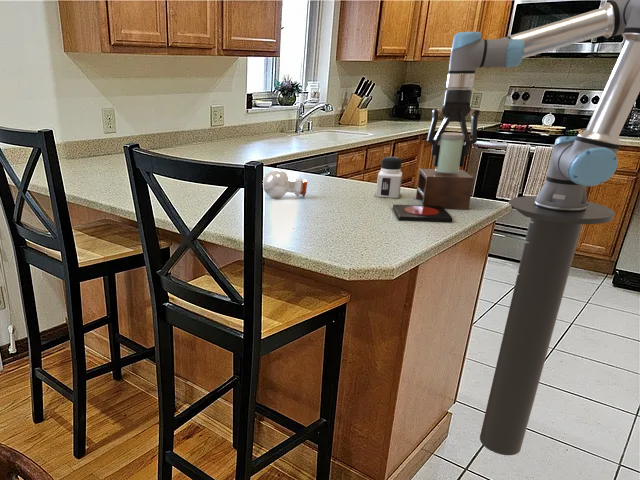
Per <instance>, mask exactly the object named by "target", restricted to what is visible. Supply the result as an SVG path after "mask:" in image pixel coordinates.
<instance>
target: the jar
mask: <svg viewBox="0 0 640 480" xmlns="http://www.w3.org/2000/svg"><path fill="white" fill-rule="evenodd" d="M464 139H465V134H462V132H451V131H449V132H448V131H447V132H446V131H445V132H444V133H443V134H441V138H440V140H439V142H438V145H440V148H439V155H438V162H437V166H434V167H435V168H434V169H435V171H437V172H443V173H457V172H459V170H460V168H461V167H460V161H461V155H462V149H463V145H464Z"/></svg>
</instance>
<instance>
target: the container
mask: <svg viewBox="0 0 640 480" xmlns="http://www.w3.org/2000/svg"><path fill="white" fill-rule="evenodd" d="M402 162H403V160H402V158H401V157H398V156H385V157H383V158H382V159H381V164H380V165H381V167H380V171H378V173H377V179H376V190H375V196H376V198H388V199H389V198H390V199H399V198H400V194H401V187H402V182H403V181H402V179H403V172H402V170H401V169H402Z"/></svg>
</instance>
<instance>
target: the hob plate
mask: <svg viewBox="0 0 640 480" xmlns="http://www.w3.org/2000/svg"><path fill="white" fill-rule="evenodd" d="M392 209H393V211H394V214H395V216H396V217H397V219H398V221H400V222H401V221H405V222H431V223H453V217H452V216H451V214H450V213H449V212H448V211H447V209H444V208H443V207H442V206H425V205H422V204H392Z"/></svg>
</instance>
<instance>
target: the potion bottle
mask: <svg viewBox="0 0 640 480" xmlns="http://www.w3.org/2000/svg"><path fill="white" fill-rule="evenodd" d="M263 179H264V188H263V191H264V192H265V194H266V195H267V196H268V197H270V198H273V199H279V198H283V196H285V195H286V194H287V193H293V194H294V195H295V196H296V197H297V198H299V197H300V195H301V196H302V197H303V198H305V197H306V196H305V195H306V194H307V187H308V180H307V178H305V179H302V178H301V177H300V176H299V177H298V178H295V179H291V178H289V177H288V175H287V172H286V171H283V170H280V169H272V170H270V171H269V172H268V173H266V174H264V177H263Z"/></svg>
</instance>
